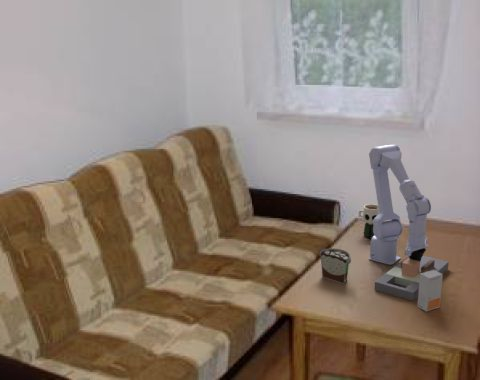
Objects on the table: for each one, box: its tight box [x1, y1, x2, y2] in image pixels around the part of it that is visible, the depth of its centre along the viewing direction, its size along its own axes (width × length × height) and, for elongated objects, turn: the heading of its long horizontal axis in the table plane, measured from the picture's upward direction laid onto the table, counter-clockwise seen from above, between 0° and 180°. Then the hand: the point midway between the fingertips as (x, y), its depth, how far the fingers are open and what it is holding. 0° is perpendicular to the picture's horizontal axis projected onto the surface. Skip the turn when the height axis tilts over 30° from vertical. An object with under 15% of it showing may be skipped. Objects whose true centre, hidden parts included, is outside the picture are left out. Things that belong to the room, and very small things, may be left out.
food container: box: [318, 248, 352, 285], centre depth 226 cm, size 12×6×10 cm, turn 47°
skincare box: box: [417, 270, 444, 312], centre depth 203 cm, size 6×4×12 cm
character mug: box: [358, 203, 379, 239], centre depth 262 cm, size 11×7×13 cm, turn 70°
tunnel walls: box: [400, 255, 435, 273], centre depth 226 cm, size 9×8×2 cm
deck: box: [374, 255, 449, 302], centre depth 224 cm, size 14×30×3 cm, turn 141°
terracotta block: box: [402, 258, 420, 278], centre depth 221 cm, size 4×4×4 cm
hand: (415, 267), depth 224 cm, fingers closed
